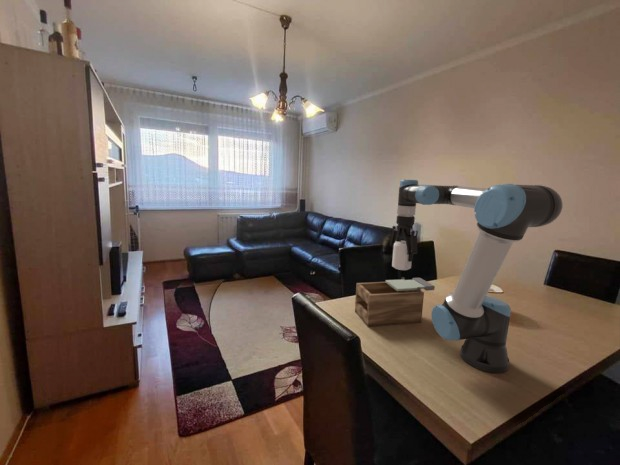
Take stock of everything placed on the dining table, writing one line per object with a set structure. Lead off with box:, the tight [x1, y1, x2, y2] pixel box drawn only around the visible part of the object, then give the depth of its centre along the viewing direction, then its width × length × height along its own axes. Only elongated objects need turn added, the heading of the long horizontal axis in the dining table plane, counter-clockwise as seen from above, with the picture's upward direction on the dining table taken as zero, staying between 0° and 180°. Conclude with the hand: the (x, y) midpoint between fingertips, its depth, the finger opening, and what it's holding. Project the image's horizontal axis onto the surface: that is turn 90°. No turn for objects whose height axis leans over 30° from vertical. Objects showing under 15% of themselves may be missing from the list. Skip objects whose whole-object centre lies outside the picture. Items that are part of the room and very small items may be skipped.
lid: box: [384, 277, 436, 292], centre depth 138 cm, size 12×18×2 cm, turn 102°
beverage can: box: [391, 240, 411, 271], centre depth 131 cm, size 8×8×12 cm
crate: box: [354, 276, 425, 328], centre depth 137 cm, size 16×26×16 cm, turn 102°
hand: (401, 265), depth 132 cm, fingers closed on beverage can, 8 cm apart
